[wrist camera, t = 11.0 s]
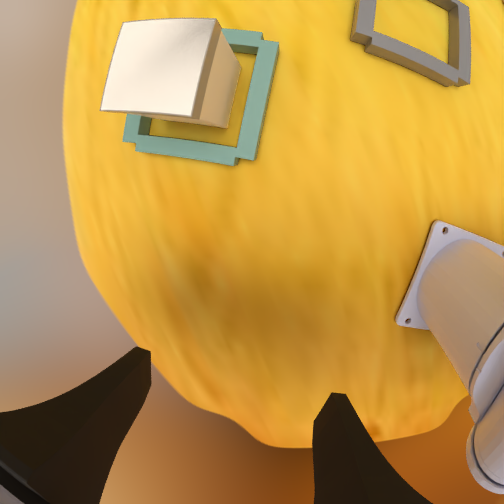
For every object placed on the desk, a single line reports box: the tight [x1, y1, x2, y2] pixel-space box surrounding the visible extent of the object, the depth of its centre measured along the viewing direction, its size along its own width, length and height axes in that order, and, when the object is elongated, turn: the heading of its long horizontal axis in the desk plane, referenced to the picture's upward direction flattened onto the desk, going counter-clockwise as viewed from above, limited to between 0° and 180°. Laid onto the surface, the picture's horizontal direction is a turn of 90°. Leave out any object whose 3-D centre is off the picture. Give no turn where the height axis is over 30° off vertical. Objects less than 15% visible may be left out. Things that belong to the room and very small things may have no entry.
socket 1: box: [123, 28, 279, 166], centre depth 14 cm, size 8×8×2 cm
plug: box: [100, 18, 241, 129], centre depth 12 cm, size 4×4×7 cm
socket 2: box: [350, 0, 471, 87], centre depth 11 cm, size 8×8×2 cm
